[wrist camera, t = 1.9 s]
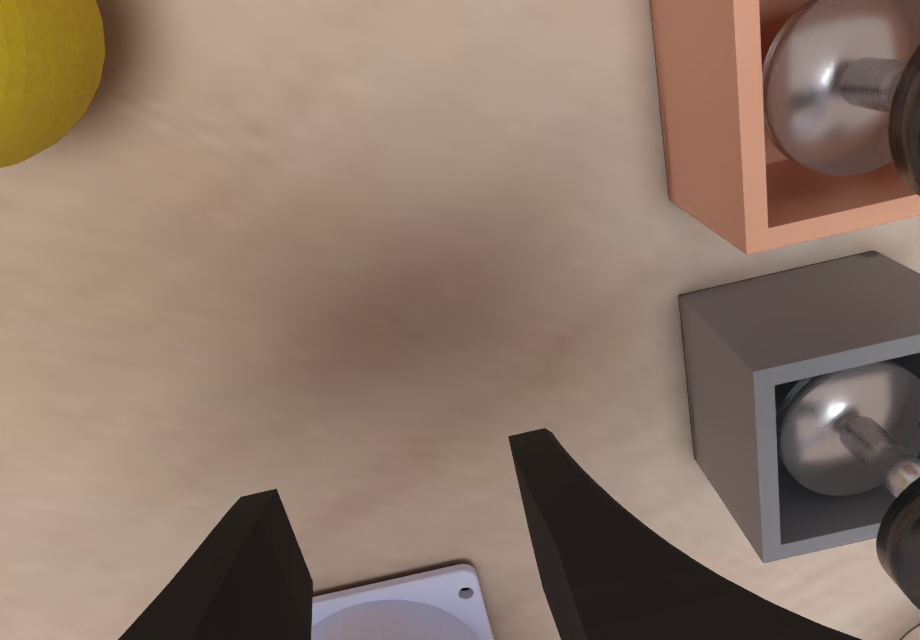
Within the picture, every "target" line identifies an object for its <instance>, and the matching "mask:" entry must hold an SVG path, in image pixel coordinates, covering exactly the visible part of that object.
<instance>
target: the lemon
mask: <svg viewBox="0 0 920 640" xmlns="http://www.w3.org/2000/svg"><path fill="white" fill-rule="evenodd" d="M104 59H105V42H104V29H103V21H102V18H101V15H100V11H99V8H98V5H97V2H96V0H0V168H2V167H6V166H10V165H14V164H17V163H20V162H22V161H24V160H26V159H28V158H30V157H32V156H34V155H35V154H37V153H39V152H41V151H43V150H45V149H46V148H48V147H50V146H52V145H54V144H55V143H57V142H58V141H59V140H61V139H62V138H63V137H64V135H65V134H66V133H67V132H68V131H69V130H70V129H71V128H72V127H73V126H74V125H75V124H76V123H77V122H78V121H79V120H80V119H81V118H82V117H83V115H84V114H85V113H86V111H87V109H88V107H89V105H90V103H91V101H92V99H93V97H94V95H95V93H96V91H97V89H98V87H99V84H100V81H101V75H102V70H103V65H104Z"/></svg>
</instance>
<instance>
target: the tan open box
mask: <svg viewBox="0 0 920 640" xmlns="http://www.w3.org/2000/svg"><path fill="white" fill-rule="evenodd" d="M807 1H808V0H650V6H651V17H652V27H653V37H654V48H655V58H656V68H657V79H658V89H659V99H660V110H661V120H662V130H663V141H664V151H665V161H666V172H667V182H668V192H669V200H670V201H672V202H673V203H675V204H676V205H677V206H679V207H680V208H682V209H683V210H684V211H686V212H687V213H689V214H690V215H691V216H693V217H694V218H696V219H697V220H698V221H700V222H701V223H703V224H704V225H706V226H707V227H708V228H710V229H711V230H713V231H714V232H715V233H717V234H718V235H720V236H721V237H722V238H724V239H725V240H727V241H728V242H729V243H731V244H732V245H734V246H735V247H737V248H738V249H739V250H741V251H742V252H744V253H745V254H746V255H748V254H752V253H757V252H761V251H766V250H770V249H774V248H779V247H783V246H788V245H792V244H796V243H801V242H805V241H809V240H814V239H818V238H823V237H827V236H831V235H836V234H840V233H844V232H849V231H853V230H858V229H862V228H866V227H871V226H875V225H879V224H884V223H888V222H893V221H897V220H901V219H906V218H910V217H914V216H919V215H920V196H918V195H917V194H915V193H914V192H913V191H912V190H911V189H910V188H909V187H908V186H907V185H906V183H905V182H904V181H903V179H902V178H901V177H900V175H899V173H898V171H897V169H896V167H895V165H894V162H893V161H892V162H890V163H888V164H886V165H885V166H882V167H880V168H878V169H875V170H872V171H869V172H866V173H862V174H856V175H846V176H837V175H828V174H825V173H821V172H817V171H815V170H812V169H810V168H807V167H805V166H802V165H800V164H798V163H795V162H794V161H792V160H790V159H789V158H787V157H786V156H785V155H784V154H782V153H781V152H780V151H779V150H778V149H777V147H776V146H775V145H774V144H773V143H772V141H771V139H770V138H769V136H768V134H767V133H766V130H765V128H764V112H763V87H762V68H763V64H764V61H765V58H766V56H767V53H768V51H769V48H770V47H771V45H772V43H773V41H774V39H775V37H776V36H777V34H778V33H779V31H780V29H781V28H782V26H783V25H784V24H785V23H786V22H787V20H788V19H789V18H790V17H791V16H792V15H793V14H794V13H795V12H796V11H797V10H798V9H799V8H800V7H801V6H802V5H803V4H804V3H806V2H807Z"/></svg>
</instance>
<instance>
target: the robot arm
mask: <svg viewBox="0 0 920 640" xmlns="http://www.w3.org/2000/svg"><path fill="white" fill-rule="evenodd" d="M508 437H509V442H510V446H511V451H512V455H513V460H514V464H515V469H516V474H517V478H518V483H519V487H520V492H521V496H522V501H523V505H524V510H525V514H526V519H527V524H528V528H529V533H530V537H531V541H532V545H533V549H534V553H535V557H536V562H537V566H538V570H539V574H540V578H541V582H542V586H543V590H544V592H545V595H546V598H547V601H548V604H549V607H550V609H551V612H552V615H553V618H554V621H555V623H556V626H557V629H558V632H559V635H560V637H561V640H861V639H859V638H856V637H853V636H850V635H848V634H845V633H842V632H839V631H837V630H834V629H831V628H828V627H826V626H823V625H821V624H818V623H816V622H814V621H811V620H809V619H807V618H805V617H802V616H800V615H798V614H796V613H793V612H791V611H789V610H787V609H784V608H782V607H780V606H778V605H775V604H773V603H771V602H769V601H767V600H765V599H763V598H761V597H759V596H758V595H756V594H754V593H752V592H750V591H748V590H746V589H744V588H742V587H741V586H739V585H737V584H735V583H733V582H731V581H729V580H727V579H725V578H724V577H722V576H720V575H718V574H717V573H715V572H713V571H712V570H710V569H708V568H707V567H705V566H704V565H702V564H700V563H699V562H697V561H695V560H694V559H692V558H691V557H689V556H688V555H686V554H685V553H683V552H682V551H680V550H679V549H677V548H676V547H674V546H673V545H671V544H670V543H668V542H667V541H666V540H664V539H663V538H662V537H660V536H659V535H657V534H656V533H655V532H653V531H652V530H651V529H650V528H648V527H647V526H646V525H644V524H643V523H642V522H641V521H639V520H638V519H637V518H636V517H634V516H633V515H632V514H631V513H630V512H628V511H627V510H626V509H625V508H624V507H622V506H621V505H620V504H619V503H618V502H617V501H615V500H614V499H613V498H612V497H611V496H610V495H609V494H608V493H607V492H606V491H605V490H604V489H603V488H601V487H600V486H599V485H598V484H597V483H596V482H595V481H594V480H593V479H592V478H591V477H590V476H589V475H588V474H587V473H586V472H585V471H584V470H583V469H582V468H581V467H580V466H579V465H578V464H577V463H576V462H575V461H574V459H573V458H572V457H571V456H570V455H569V454H568V453H567V452H566V450H565V449H564V448H563V447H562V446H561V444H560V443H559V442H558V440H557V439H556V438H555V436H554V435H553V433H552V432H550V431H548V430H547V429H545V428H544V429H539V430H535V431H530V432H526V433H522V434H517V435H513V436H508ZM462 588H471V589H469V590H467V591H462V590H461V589H462ZM118 640H494V637H493V633H492V630H491V626H490V622H489V618H488V615H487V611H486V607H485V603H484V600H483V596H482V592H481V588H480V584H479V581H478V577H477V573H476V571H475V569H474V568H473V567H472V566H470V565H467V564H458V565H454V566H449V567H445V568H440V569H436V570H432V571H427V572H423V573H418V574H414V575H409V576H405V577H400V578H396V579H391V580H387V581H383V582H378V583H374V584H369V585H365V586H360V587H356V588H351V589H347V590H342V591H338V592H333V593H329V594H325V595H320V596H316V597H313V581H312V579H311V576H310V573H309V571H308V568H307V566H306V563H305V561H304V558H303V555H302V553H301V550H300V548H299V545H298V543H297V540H296V538H295V535H294V532H293V530H292V527H291V525H290V522H289V520H288V517H287V514H286V512H285V509H284V507H283V504H282V502H281V499H280V496H279V494H278V491H277V489H274V490H270V491H265V492H261V493H256V494H252V495H247V496H243V497H240V499H239V500H238V501H237V502H236V503H235V504H234V505H233V506H232V507H231V509H230V510H229V511H228V512H227V513H226V514H225V516H224V517H223V518H222V519H221V521H220V522H219V523H218V524H217V525H216V527H215V528H214V529H213V530H212V532H211V533H210V534H209V535H208V537H207V538H206V539H205V540H204V541H203V543H202V544H201V545H200V546H199V548H198V549H197V550H196V551H195V552H194V554H193V555H192V556H191V557H190V558H189V560H188V561H187V562H186V563H185V564H184V566H183V567H182V568H181V569H180V571H179V572H178V573H177V574H176V575H175V577H174V578H173V579H172V580H171V581H170V583H169V584H168V585H167V586H166V587H165V588H164V589H163V591H162V592H161V593H160V594H159V595H158V596H157V597H156V598H155V599H154V601H153V602H152V603H151V604H150V605H149V606H148V607H147V608H146V609H145V611H144V612H143V613H142V614H141V615H140V616H139V617H138V618H137V619H136V620H135V622H134V623H133V624H132V625H131V626H130V627H129V628H128V629H127V630H126V632H125V633H124V634H123V635H122V636H121V637H120V638H119V639H118Z"/></svg>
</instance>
